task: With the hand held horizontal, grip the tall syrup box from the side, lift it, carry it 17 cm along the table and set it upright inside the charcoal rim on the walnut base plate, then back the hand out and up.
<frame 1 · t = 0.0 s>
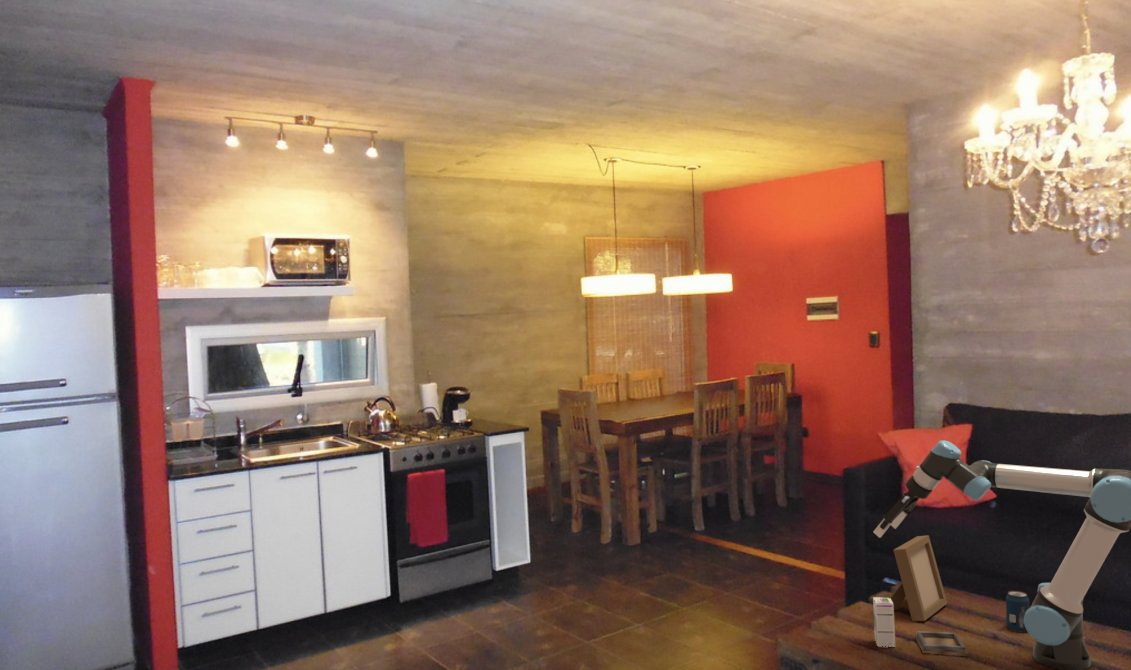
hand: (884, 530, 275), 36 cm above the table, tool tilted 35°, fingers open, 13 cm apart
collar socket: (940, 646, 268), on the table
soda can: (1018, 629, 280), on the table
syrup box: (884, 644, 271), on the table
photo frame: (915, 610, 300), on the table
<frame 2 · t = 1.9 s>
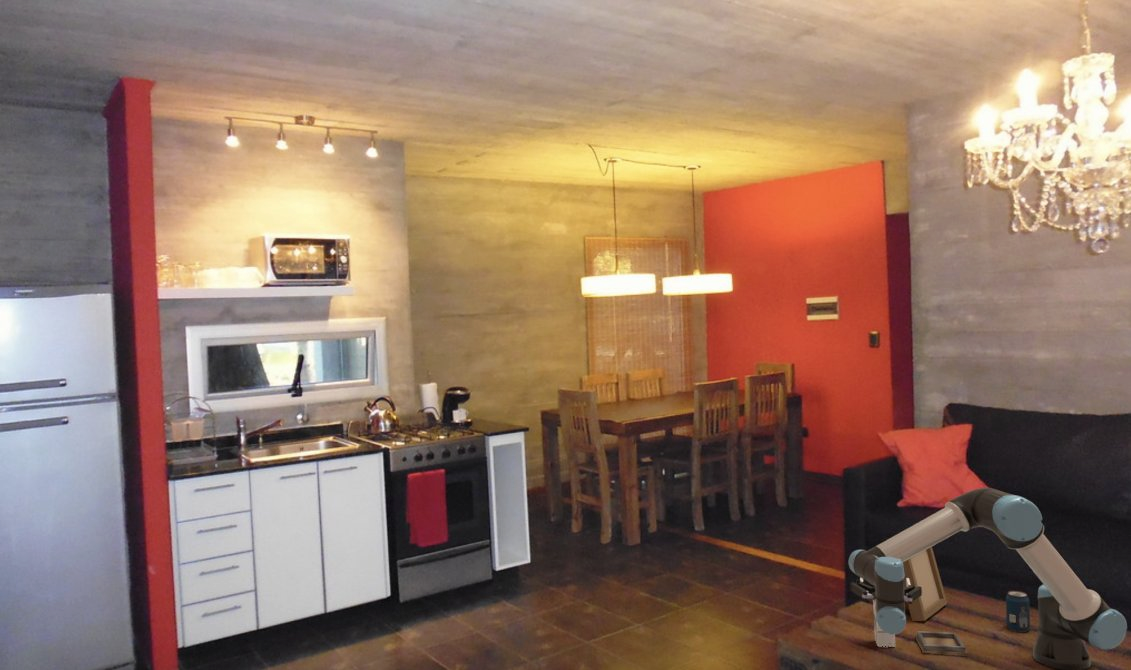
hand: (884, 580, 262), 24 cm above the table, tool horizontal, fingers open, 13 cm apart
nothing on the table moved.
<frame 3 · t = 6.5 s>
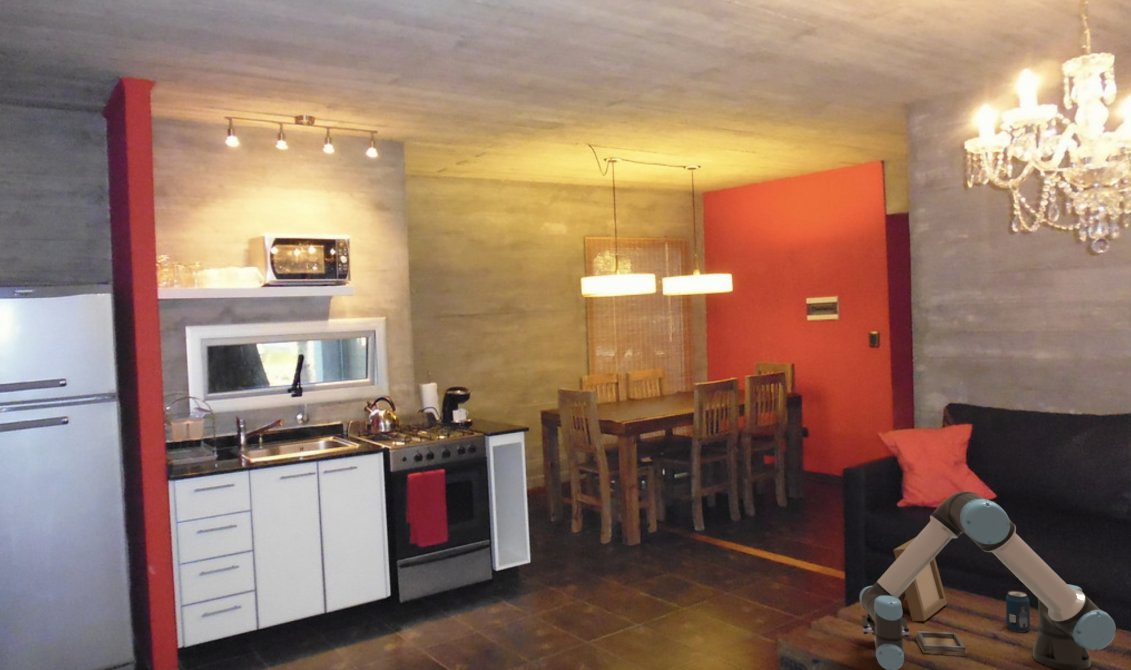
hand: (883, 612, 276), 9 cm above the table, tool horizontal, fingers closed on syrup box, 6 cm apart
syrup box: (884, 644, 271), on the table, touching gripper
everything else where it was.
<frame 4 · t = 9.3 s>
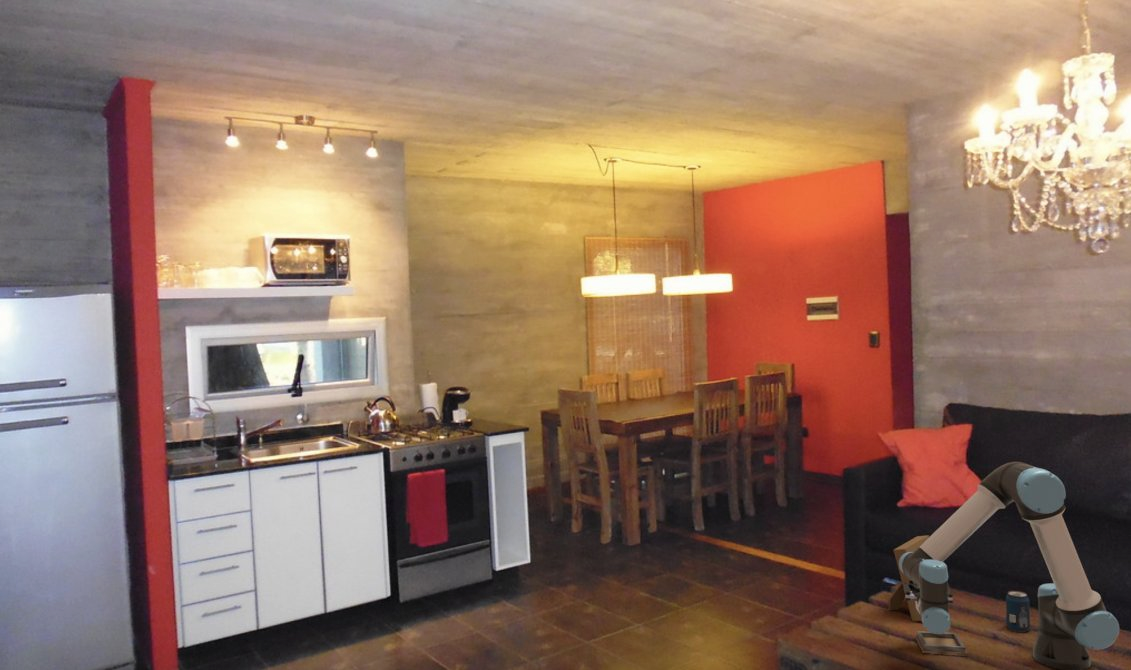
hand: (923, 580, 273), 20 cm above the table, tool horizontal, fingers closed on syrup box, 6 cm apart
syrup box: (926, 612, 268), point 11 cm above the table, touching gripper
everything else where it was.
when the fingers open (10 cm above the table, at t = 12.3 s): syrup box stays where it is, resting on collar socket.
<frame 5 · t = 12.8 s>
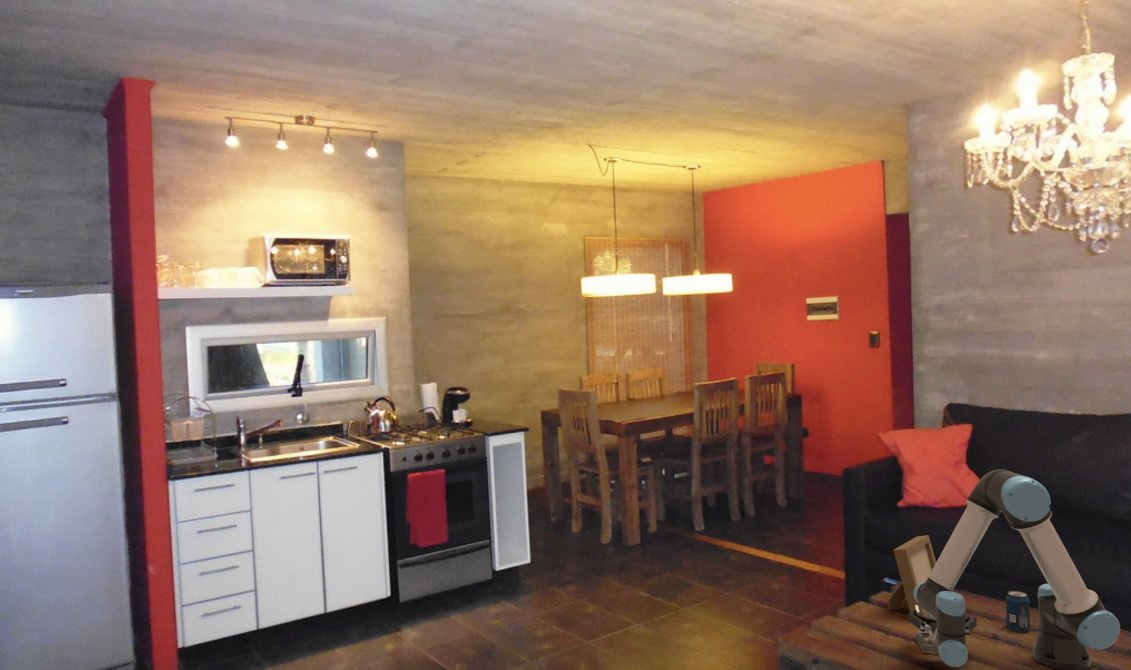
hand: (938, 610, 271), 10 cm above the table, tool horizontal, fingers open, 13 cm apart
syrup box: (940, 644, 268), point 1 cm above the table, touching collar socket
everything else where it was.
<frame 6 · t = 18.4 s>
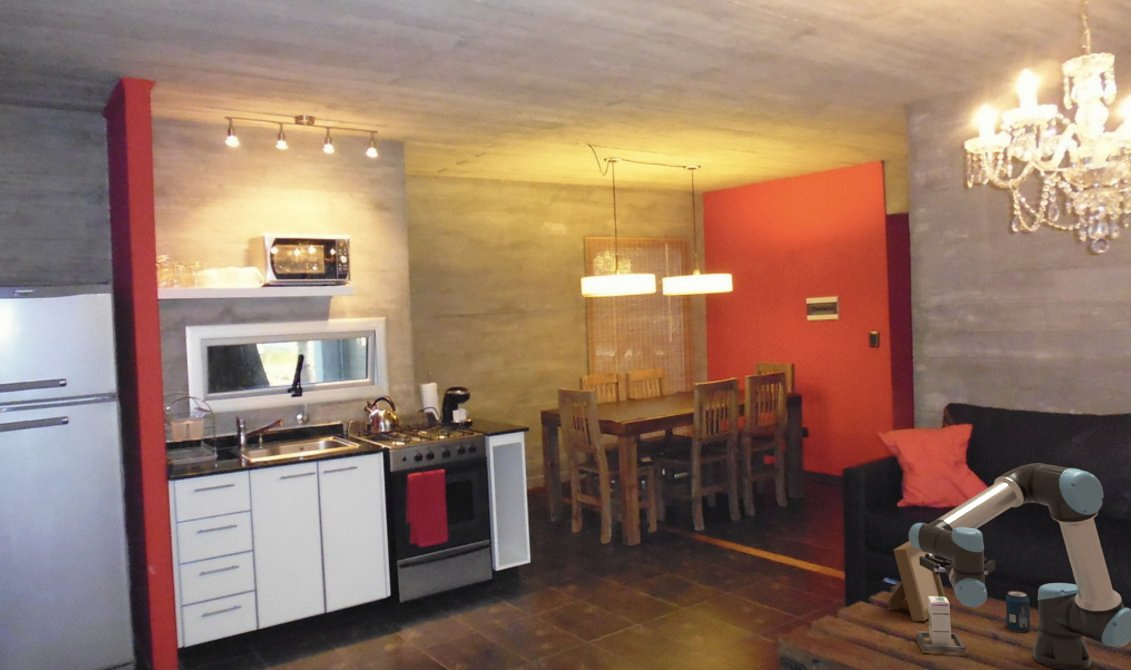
hand: (953, 555, 252), 34 cm above the table, tool horizontal, fingers open, 13 cm apart
nothing on the table moved.
at the end: syrup box 0.2 cm off-centre on the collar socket, point 0.8 cm above the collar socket's base; syrup box tilted 0°; the gripper is holding nothing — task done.
